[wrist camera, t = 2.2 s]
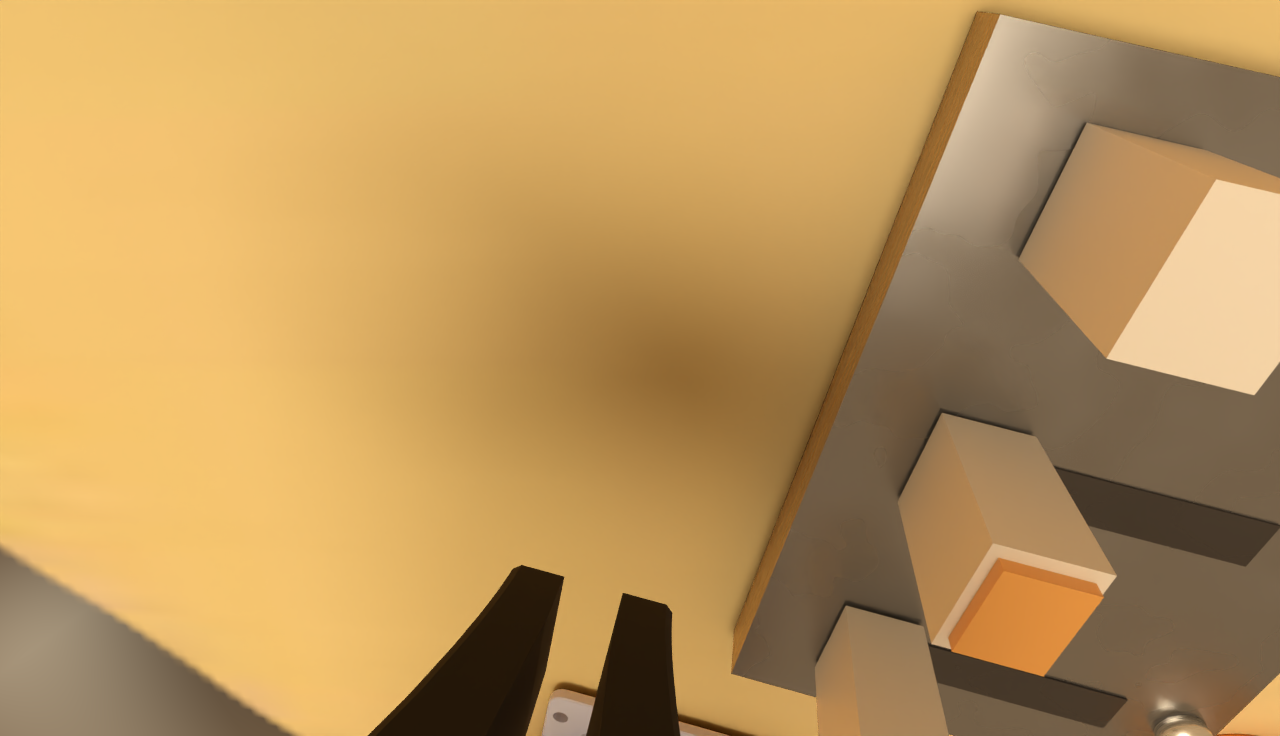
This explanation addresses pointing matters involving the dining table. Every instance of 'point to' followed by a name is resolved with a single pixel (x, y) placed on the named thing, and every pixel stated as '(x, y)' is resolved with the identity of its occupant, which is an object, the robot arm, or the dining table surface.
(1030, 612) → the block
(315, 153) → the dining table surface
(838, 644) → the block
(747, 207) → the dining table surface
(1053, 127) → the panel
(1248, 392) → the block
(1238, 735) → the cap
